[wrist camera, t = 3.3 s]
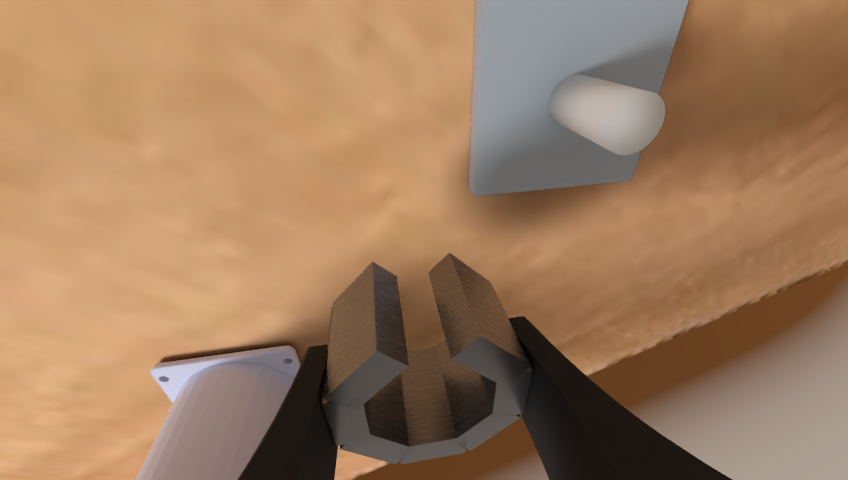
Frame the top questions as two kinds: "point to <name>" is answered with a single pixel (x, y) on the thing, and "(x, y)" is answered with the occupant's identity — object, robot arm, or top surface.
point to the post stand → (566, 90)
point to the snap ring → (422, 369)
